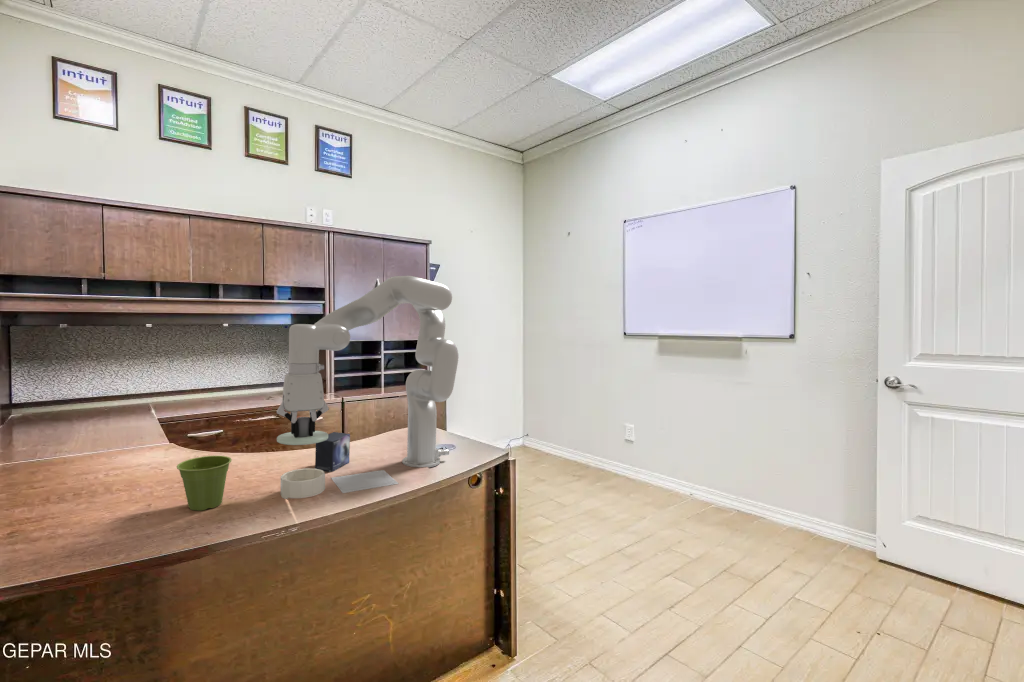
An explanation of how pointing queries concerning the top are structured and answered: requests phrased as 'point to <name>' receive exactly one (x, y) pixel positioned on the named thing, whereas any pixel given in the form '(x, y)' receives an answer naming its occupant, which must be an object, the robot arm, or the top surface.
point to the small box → (332, 452)
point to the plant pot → (204, 480)
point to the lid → (302, 434)
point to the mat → (363, 481)
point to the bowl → (302, 483)
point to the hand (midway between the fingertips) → (303, 435)
